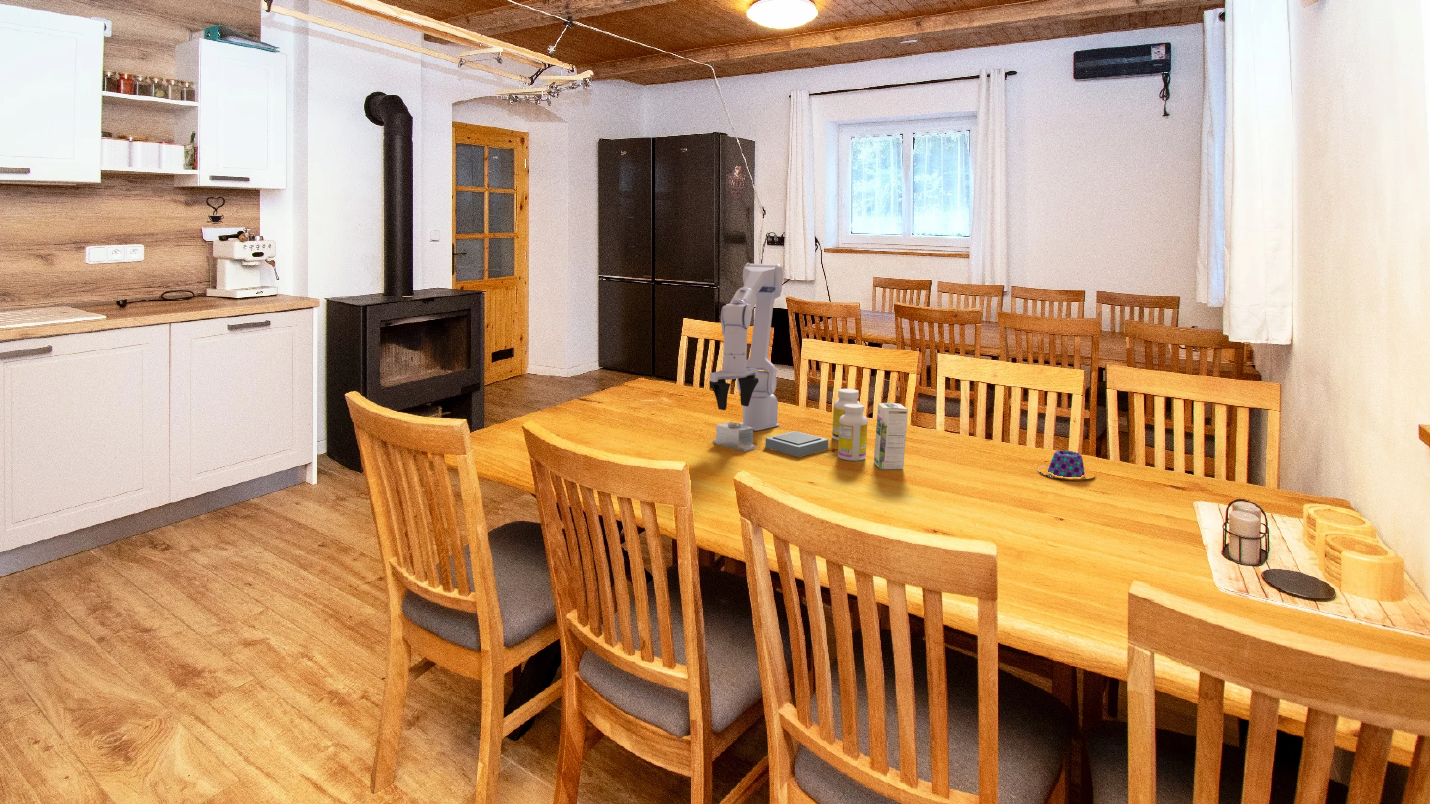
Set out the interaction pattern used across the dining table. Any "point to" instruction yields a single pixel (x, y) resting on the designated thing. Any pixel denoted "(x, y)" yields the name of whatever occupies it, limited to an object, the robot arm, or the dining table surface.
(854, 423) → the supplement bottle
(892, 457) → the syrup box
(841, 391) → the supplement bottle
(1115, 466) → the dining table surface
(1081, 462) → the polka-dot brimmed hat
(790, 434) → the stand
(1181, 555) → the dining table surface
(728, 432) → the housing
